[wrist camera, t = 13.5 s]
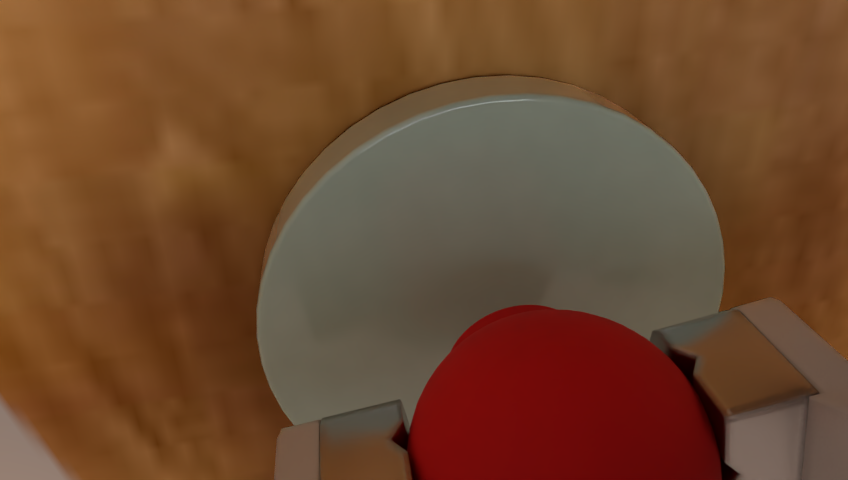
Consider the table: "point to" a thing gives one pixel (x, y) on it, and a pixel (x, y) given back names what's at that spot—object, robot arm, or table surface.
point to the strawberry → (559, 405)
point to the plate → (474, 236)
